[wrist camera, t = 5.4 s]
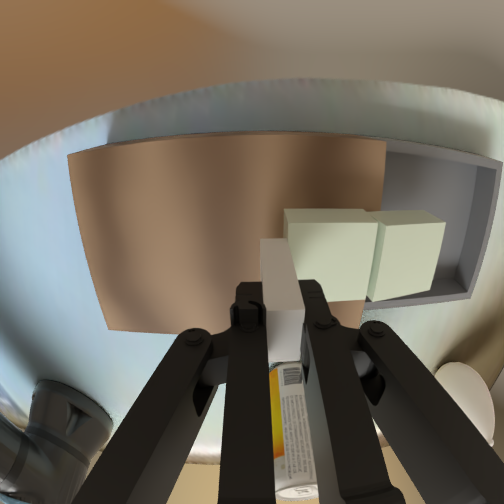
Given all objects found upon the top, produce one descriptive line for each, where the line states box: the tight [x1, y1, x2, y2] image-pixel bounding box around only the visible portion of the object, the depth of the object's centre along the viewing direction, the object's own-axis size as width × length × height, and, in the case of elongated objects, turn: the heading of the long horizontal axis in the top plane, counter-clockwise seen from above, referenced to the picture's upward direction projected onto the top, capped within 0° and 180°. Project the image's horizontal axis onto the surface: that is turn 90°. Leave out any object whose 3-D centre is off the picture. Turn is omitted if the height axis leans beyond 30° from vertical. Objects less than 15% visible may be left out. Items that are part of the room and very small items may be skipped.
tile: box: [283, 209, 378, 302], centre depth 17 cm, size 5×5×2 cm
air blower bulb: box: [435, 362, 495, 447], centre depth 25 cm, size 8×8×18 cm
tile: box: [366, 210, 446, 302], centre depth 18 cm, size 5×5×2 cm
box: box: [358, 135, 503, 310], centre depth 22 cm, size 14×14×4 cm
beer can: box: [269, 362, 319, 501], centre depth 25 cm, size 6×6×15 cm
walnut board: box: [67, 131, 386, 335], centre depth 21 cm, size 20×14×6 cm
